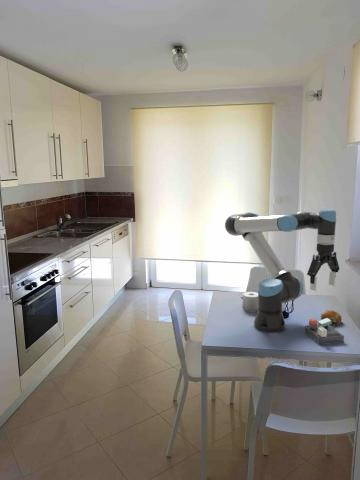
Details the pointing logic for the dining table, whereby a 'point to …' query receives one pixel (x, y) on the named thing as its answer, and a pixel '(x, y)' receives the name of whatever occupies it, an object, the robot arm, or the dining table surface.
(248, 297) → the toilet tissue
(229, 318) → the dining table surface
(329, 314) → the bread roll
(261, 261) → the robot arm
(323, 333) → the slider knob
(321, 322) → the rocker
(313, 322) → the red button
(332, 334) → the panel
